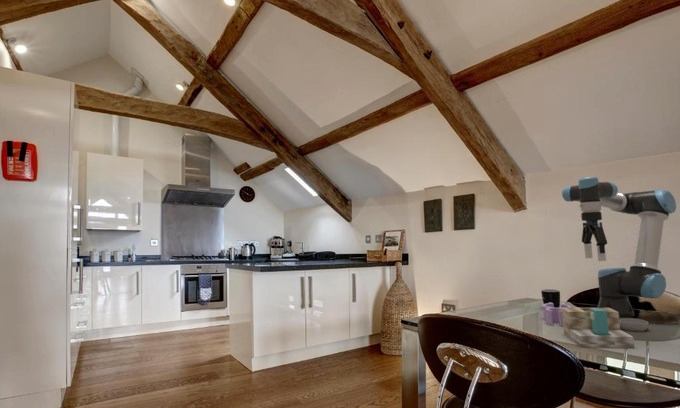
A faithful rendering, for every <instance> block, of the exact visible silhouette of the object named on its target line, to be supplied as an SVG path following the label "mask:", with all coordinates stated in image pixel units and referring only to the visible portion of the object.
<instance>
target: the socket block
mask: <svg viewBox="0 0 680 408" xmlns="http://www.w3.org/2000/svg"><path fill="white" fill-rule="evenodd" d="M591 309H604V310H606V311H607V320H608V331H609V335H595V334H593V329H592V319H591V317H590V312H591ZM562 313H563V325H564V326H563V334H564V335H566V336H567V337H568V338H569V339H570V340H572V342H574V343H576V345H577V346H579V347H583V348H584V347H585V348H586V347H587V348H618V349H621V348H622V349H635V340H634V336H633V335H631V334H629V333H627V332H625V331H623V330H622V329H621V327H620V323H619V312H617V311H615V310H613V309H611V308H597V307H571V308H562Z"/></svg>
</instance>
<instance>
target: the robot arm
mask: <svg viewBox="0 0 680 408" xmlns="http://www.w3.org/2000/svg"><path fill="white" fill-rule="evenodd" d="M561 196H562V199H563V200H564V201H565V202H578V203H580V204H579V208H580V212H581V213H580V215H581V222H582V221H585V222H583V223H582V233H581V243H583V246H584V247H583V248H584V257H585V259H593V247H592V238H593V237H594V239H595V241H596V244H595V246H596V250H597V251H596V252H597V261H598V262H605V261H607V256H606V254H607V253H606V245H607V244H608V240H607V238H606V234H605V231H604V227H603V223H602V219H603V217H602V212H601V211H602V208H608V209H609V210H611V211H613V212H617V213H622V214H628V215H633V216H634V215H637V216H638V218H640V225H639V233H638V238H637V246H636V251H635V252H636V253H635V260H634V264H632V265H630V266H629V270H628V271H627V269H626V267H613V268H601V269H599V270H598V272H597V280H598V290H599V301H598V305H597V307H596V308H611V309H613V310H615V311H617V312H619V318H633V317H635V311H634V309H633V307H632V305H631V303H630V300H629V297H630V296H631V297H637V298H643V299H644V298H645V299H658V298H659V297H661V296H663V295H664V294H665V291H666V288H667V282H666V281H667V280H666V277H665V276H664V274H662V271H661V269H660V268H659V267H658V266H659V260H660V259H659V258H660V253H661V243H662V237H663V230H664V222H665V221H666V220H668V219H669V215H670V214H673V213H675V211H676V209H677V203H676V198H675V197H674V196H673V194H672V193H671V192H670V191H669V190H667V189H654V190H648V191H637V192H636V191H635V192H627V193H621V192H620V193H619V191H618V186H617V185H616V184H615V183H614V182H609V181H599V178H598V177H597V176H589V177H588V176H587V177H582V178H581V177H580V178H579V179H578V185H569V186H565V187H564V188H563V189H562V192H561ZM600 221H601V222H600Z"/></svg>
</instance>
